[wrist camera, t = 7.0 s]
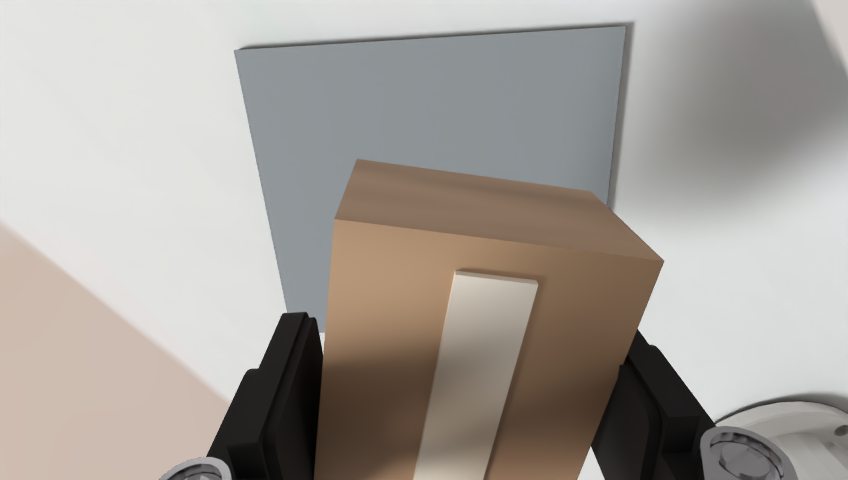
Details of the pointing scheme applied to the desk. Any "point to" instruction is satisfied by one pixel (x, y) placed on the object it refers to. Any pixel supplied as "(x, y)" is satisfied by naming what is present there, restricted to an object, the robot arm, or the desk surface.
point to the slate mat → (421, 124)
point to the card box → (472, 326)
